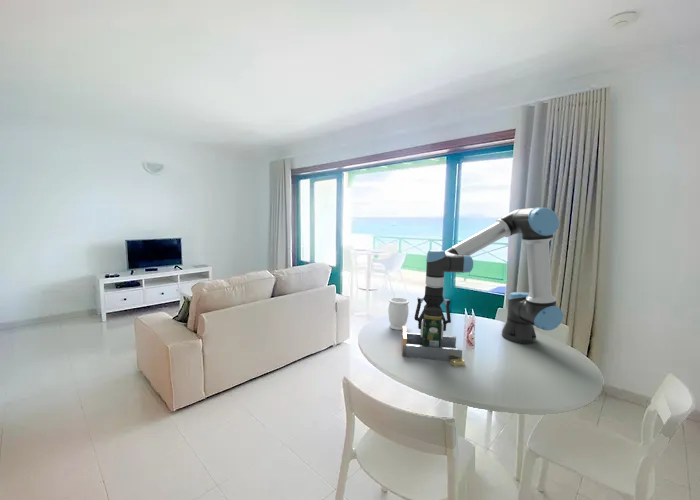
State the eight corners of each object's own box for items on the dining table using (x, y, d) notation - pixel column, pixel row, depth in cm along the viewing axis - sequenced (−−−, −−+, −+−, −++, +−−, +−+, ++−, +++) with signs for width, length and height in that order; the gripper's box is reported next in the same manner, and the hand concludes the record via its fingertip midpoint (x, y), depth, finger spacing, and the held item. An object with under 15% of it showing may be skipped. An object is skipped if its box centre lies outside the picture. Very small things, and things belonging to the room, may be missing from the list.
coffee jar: (421, 340, 140) (423, 301, 138) (439, 342, 139) (441, 302, 137) (422, 349, 131) (424, 307, 129) (441, 351, 130) (444, 308, 128)
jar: (410, 326, 166) (411, 299, 164) (403, 332, 157) (404, 304, 155) (392, 322, 171) (393, 296, 170) (384, 328, 162) (385, 300, 161)
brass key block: (460, 362, 126) (460, 358, 126) (464, 365, 124) (464, 360, 124) (450, 364, 125) (450, 359, 124) (454, 367, 122) (454, 362, 122)
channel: (454, 346, 141) (455, 330, 140) (461, 361, 126) (462, 343, 125) (401, 342, 145) (402, 325, 144) (402, 356, 130) (403, 338, 129)
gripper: (457, 285, 134) (454, 335, 137) (409, 282, 137) (407, 331, 140) (461, 289, 127) (457, 342, 129) (410, 286, 130) (407, 338, 132)
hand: (431, 336), depth 135 cm, fingers closed on coffee jar, 8 cm apart
